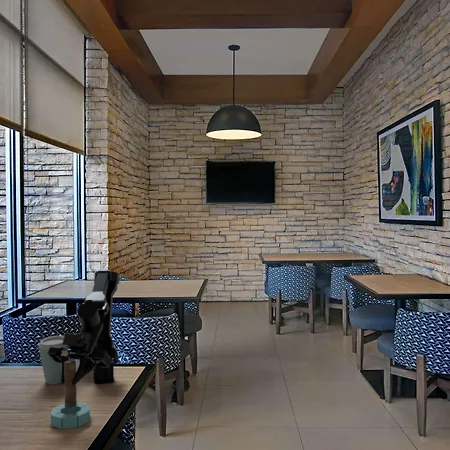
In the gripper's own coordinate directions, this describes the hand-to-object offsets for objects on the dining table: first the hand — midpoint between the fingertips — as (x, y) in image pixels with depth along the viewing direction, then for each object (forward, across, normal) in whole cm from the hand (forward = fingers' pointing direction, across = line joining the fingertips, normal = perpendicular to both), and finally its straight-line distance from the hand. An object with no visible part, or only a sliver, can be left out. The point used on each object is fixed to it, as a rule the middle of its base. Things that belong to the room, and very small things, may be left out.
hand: (67, 384), depth 133 cm
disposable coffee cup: (-11, -24, +27) cm, 37 cm away
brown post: (+4, 0, +6) cm, 7 cm away
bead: (+7, 0, +9) cm, 11 cm away
